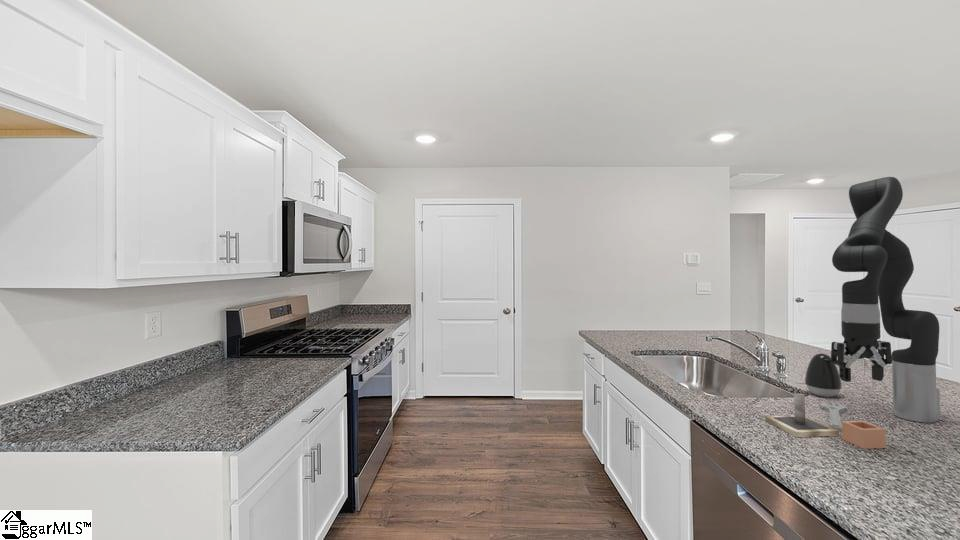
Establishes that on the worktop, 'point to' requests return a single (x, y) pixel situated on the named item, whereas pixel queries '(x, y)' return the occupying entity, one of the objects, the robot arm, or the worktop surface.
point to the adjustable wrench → (834, 414)
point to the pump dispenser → (823, 376)
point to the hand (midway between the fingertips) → (861, 380)
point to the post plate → (802, 432)
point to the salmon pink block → (864, 434)
